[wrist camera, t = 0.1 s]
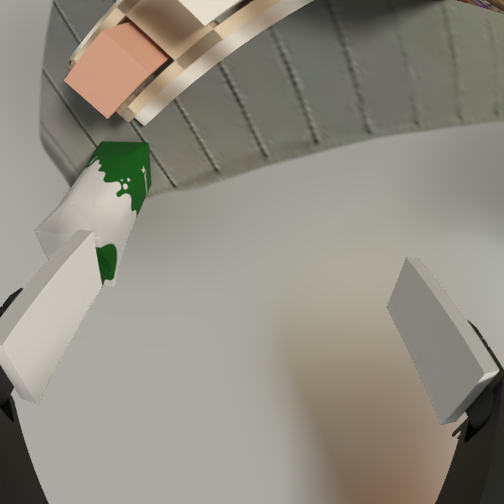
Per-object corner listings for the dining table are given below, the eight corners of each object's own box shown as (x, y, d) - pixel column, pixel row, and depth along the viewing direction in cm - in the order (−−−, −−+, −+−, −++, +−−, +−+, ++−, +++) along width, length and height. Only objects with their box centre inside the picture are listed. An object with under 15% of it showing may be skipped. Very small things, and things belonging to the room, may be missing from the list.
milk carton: (158, 189, 43) (115, 307, 30) (102, 185, 43) (46, 294, 29) (155, 136, 37) (94, 251, 24) (94, 135, 36) (16, 240, 23)
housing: (237, -91, 15) (232, -106, 11) (321, -5, 23) (332, -4, 19) (73, 57, 27) (46, 71, 23) (146, 122, 35) (130, 145, 31)
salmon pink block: (132, 20, 22) (101, 30, 18) (171, 56, 26) (149, 74, 21) (97, 60, 25) (63, 80, 20) (133, 93, 28) (107, 119, 24)
